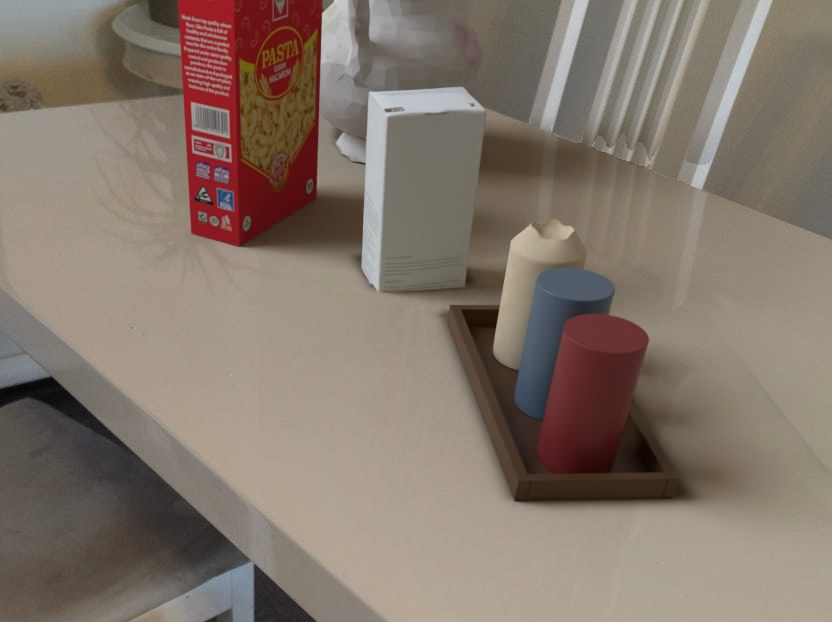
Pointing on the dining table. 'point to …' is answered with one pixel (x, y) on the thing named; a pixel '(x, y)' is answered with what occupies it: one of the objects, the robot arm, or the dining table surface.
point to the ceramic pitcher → (390, 58)
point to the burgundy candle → (591, 393)
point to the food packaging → (250, 112)
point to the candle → (531, 281)
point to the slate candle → (555, 328)
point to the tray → (519, 433)
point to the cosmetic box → (420, 187)
